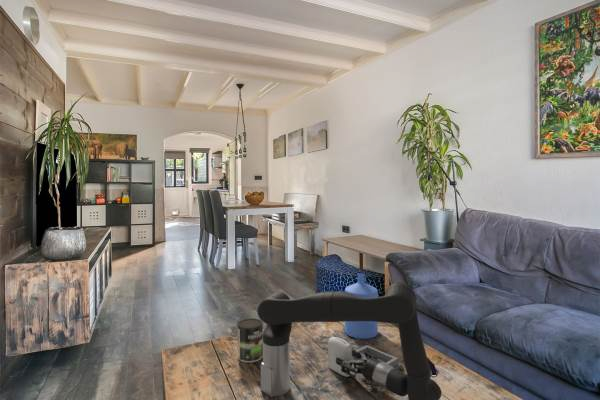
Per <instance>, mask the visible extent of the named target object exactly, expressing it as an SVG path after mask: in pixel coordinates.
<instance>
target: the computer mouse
mask: <svg viewBox="0 0 600 400" xmlns="http://www.w3.org/2000/svg"><path fill="white" fill-rule="evenodd" d="M427 359H428V363H429V366H430V370H431V376H432V375H436V376H437V374H436V372H437V367H436V365H435V364H434V363H433V362H432V361H431V359H430V358H429V357H428V356H427Z"/></svg>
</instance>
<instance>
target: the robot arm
mask: <svg viewBox="0 0 600 400" xmlns="http://www.w3.org/2000/svg"><path fill="white" fill-rule="evenodd" d="M417 308H418V307H417V295H416V292H415V291H414V289H413V288H412V286H410V285H409V284H407V283H405V282H401V281H400V282H393V283H392V284H391V285H389V287H388V288H387V289H386V291H385V294H384V296H383V295H381V296H378V297H375V298H362V297H357V296H355V295H352V294H349V293H346V292H345V291H340V290H339V291H337V290H336V291H335V290H334V291H322V292H317V293H313V294H309V295H306V296H303V297H299V298H294V299H293V298H292V299H290V297H289V295H287V293H285V292H283V291H277V292H274V293H272V294H270V295H269V296H267V297H265V298H264V299H263V300H261V302H260V303H259V304H258V306H257V311H256V312H257V317H258V318H259V320H261V321H262V322H263V324H266V327H265V328H264V331H262V335H263V336H262V337H263V357H262V362H261V363H260V390H261V391H262V392H263V393H264V394H266V395H267V396H269V397H270V398H274V397H281V396H284V395H286V394H288V392H289V391H290V389H291V387H290V386H291V385H290V384H291V382H290V381H291V377H290V376H291V375H290V363H291V362H290V360H291V359H290V358H291V357H290V350H291V349H290V336H291V332H292V326H293V323H341V322H342V323H343V322H344V323H345V321H373V322H378V323H383V324H384V323H385V324H387V323H388V324H397V327H398V333H399V338H400V339H399V340H400V350H401V355H402V360H403V363H404V367H405V370H406V372H404V371H401V370H400V369H399V370H397V369H395V368H393V367H392V366H390V365H388V364H386V363H384V362H381V361H379V360H378V357H377V356H375V355H373V354H371V353H368V352H366V351H365V352H364V353H362V352H361V353H359V352H357V351H356V350H355V349H352V356H353V357H355V358H357V359H358V360H356V361H354V360H350V361H345V360H343V359H341V358H339V357H337V358H336V364H338V365H340V366H341V371H342V372H344V373H346V374H348V375H350V376H349V377H352V378H356V375H357V374H360V375H362V376H363V378H364V380H366V381H368V382H369V383H372V384H374V385H376V386H378V387H380V388H381V389H385V390H387V391H389V392H391V393H393V394H395V395H397V396H398V397H405V396H407V399H408V400H440V399H441V397H442V389H441V387H440V385H439V384H438V383H437V382H436V381H435V380H433V379H432V377H431V370H430V366H429V363H428V359H427V357H428V356H427V353H426V352H427V351H426V349H425V345H424V341H423V336H422V334H421V333H422V332H421V329H420V323H419V319H418V309H417ZM368 356H369V358H368ZM347 364H349V365H350V366H348V365H347ZM345 369H346V370H345Z"/></svg>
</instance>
